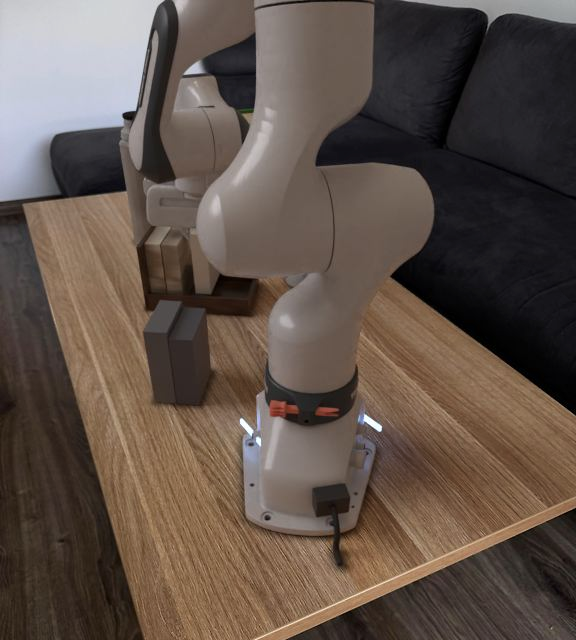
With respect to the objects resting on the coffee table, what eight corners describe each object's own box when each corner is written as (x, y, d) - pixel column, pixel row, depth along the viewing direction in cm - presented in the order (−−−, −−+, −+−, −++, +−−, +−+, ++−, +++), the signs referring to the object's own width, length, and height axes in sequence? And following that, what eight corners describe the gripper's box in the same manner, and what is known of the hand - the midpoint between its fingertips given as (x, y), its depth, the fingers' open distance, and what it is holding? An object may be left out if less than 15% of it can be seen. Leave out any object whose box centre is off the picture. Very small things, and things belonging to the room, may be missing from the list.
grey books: (211, 371, 98) (205, 302, 90) (199, 405, 91) (191, 334, 83) (169, 368, 99) (159, 299, 91) (154, 402, 92) (142, 331, 84)
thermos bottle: (151, 230, 143) (133, 106, 126) (176, 238, 140) (161, 111, 123) (127, 242, 138) (105, 113, 121) (153, 250, 135) (134, 119, 118)
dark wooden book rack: (258, 284, 122) (257, 223, 114) (248, 316, 112) (246, 252, 104) (164, 278, 124) (156, 218, 116) (146, 310, 114) (135, 247, 106)
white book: (220, 272, 119) (216, 215, 112) (211, 294, 112) (205, 234, 105) (205, 271, 120) (200, 214, 112) (195, 293, 113) (189, 234, 105)
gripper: (135, 178, 101) (146, 253, 110) (253, 184, 100) (255, 259, 108) (146, 167, 106) (156, 239, 115) (259, 172, 105) (260, 244, 113)
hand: (205, 249), depth 112 cm, fingers closed on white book, 3 cm apart
